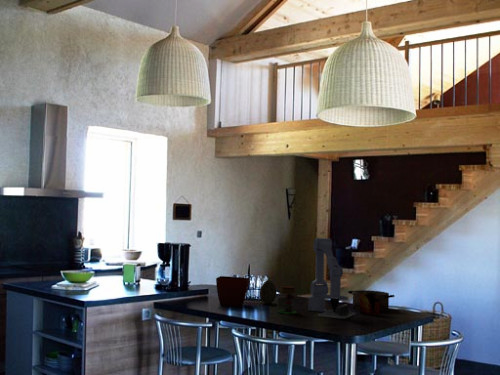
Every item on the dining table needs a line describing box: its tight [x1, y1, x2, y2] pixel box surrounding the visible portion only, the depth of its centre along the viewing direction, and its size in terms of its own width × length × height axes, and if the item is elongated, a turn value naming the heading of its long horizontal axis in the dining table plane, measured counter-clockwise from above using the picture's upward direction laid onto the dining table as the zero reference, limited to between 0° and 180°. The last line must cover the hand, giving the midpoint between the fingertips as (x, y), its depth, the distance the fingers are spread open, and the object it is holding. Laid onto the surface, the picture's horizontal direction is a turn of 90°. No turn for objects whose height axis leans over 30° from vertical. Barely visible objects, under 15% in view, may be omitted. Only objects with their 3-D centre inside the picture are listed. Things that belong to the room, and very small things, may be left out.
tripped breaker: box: [335, 306, 342, 315], centre depth 363 cm, size 2×4×4 cm, turn 155°
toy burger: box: [277, 285, 298, 315], centre depth 373 cm, size 12×13×15 cm
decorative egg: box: [259, 279, 277, 305], centre depth 409 cm, size 11×11×15 cm
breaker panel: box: [317, 309, 357, 320], centre depth 370 cm, size 16×22×2 cm
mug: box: [358, 293, 380, 316], centre depth 380 cm, size 10×14×12 cm
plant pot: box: [215, 275, 251, 308], centre depth 394 cm, size 19×19×17 cm
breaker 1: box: [338, 305, 345, 314], centre depth 369 cm, size 2×4×4 cm, turn 155°
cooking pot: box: [347, 289, 395, 313], centre depth 403 cm, size 30×22×11 cm
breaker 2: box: [341, 304, 349, 312], centre depth 375 cm, size 2×4×4 cm, turn 155°
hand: (334, 311), depth 364 cm, fingers closed
